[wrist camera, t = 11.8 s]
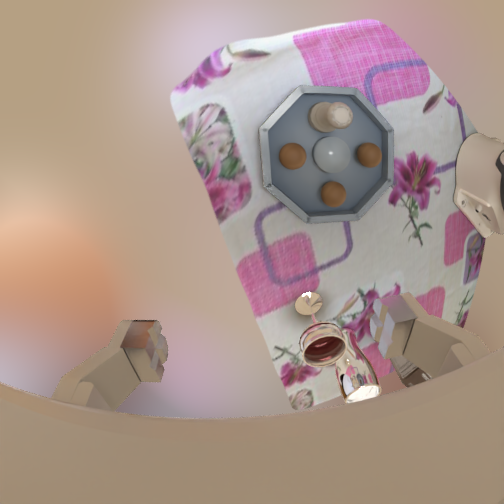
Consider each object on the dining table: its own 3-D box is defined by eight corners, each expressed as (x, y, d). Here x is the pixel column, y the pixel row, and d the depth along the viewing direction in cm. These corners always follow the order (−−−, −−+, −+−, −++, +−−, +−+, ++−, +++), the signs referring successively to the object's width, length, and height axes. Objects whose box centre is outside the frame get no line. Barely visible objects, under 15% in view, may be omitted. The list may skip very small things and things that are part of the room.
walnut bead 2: (346, 190, 38) (355, 196, 35) (329, 208, 39) (337, 215, 36) (329, 174, 37) (337, 178, 34) (312, 192, 38) (319, 198, 35)
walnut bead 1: (308, 154, 36) (315, 156, 33) (291, 172, 37) (296, 177, 34) (289, 136, 35) (294, 137, 32) (271, 156, 36) (274, 158, 33)
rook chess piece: (321, 139, 35) (341, 142, 28) (300, 114, 33) (315, 111, 26) (344, 120, 34) (368, 119, 27) (323, 95, 32) (343, 88, 25)
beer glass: (346, 319, 50) (372, 378, 36) (362, 336, 52) (388, 391, 38) (317, 340, 52) (336, 401, 38) (336, 355, 54) (355, 412, 40)
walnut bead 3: (379, 154, 36) (390, 157, 33) (364, 170, 37) (374, 175, 34) (363, 136, 35) (374, 138, 31) (348, 153, 36) (358, 156, 33)
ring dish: (404, 154, 37) (415, 157, 34) (327, 239, 42) (332, 247, 40) (320, 63, 31) (326, 59, 28) (232, 158, 37) (231, 161, 34)
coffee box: (410, 324, 52) (444, 375, 37) (388, 342, 54) (417, 396, 39) (393, 303, 49) (431, 359, 34) (369, 324, 51) (400, 383, 36)
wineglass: (312, 323, 50) (327, 371, 39) (282, 310, 48) (292, 360, 37) (334, 297, 47) (356, 342, 36) (304, 281, 46) (321, 328, 35)
